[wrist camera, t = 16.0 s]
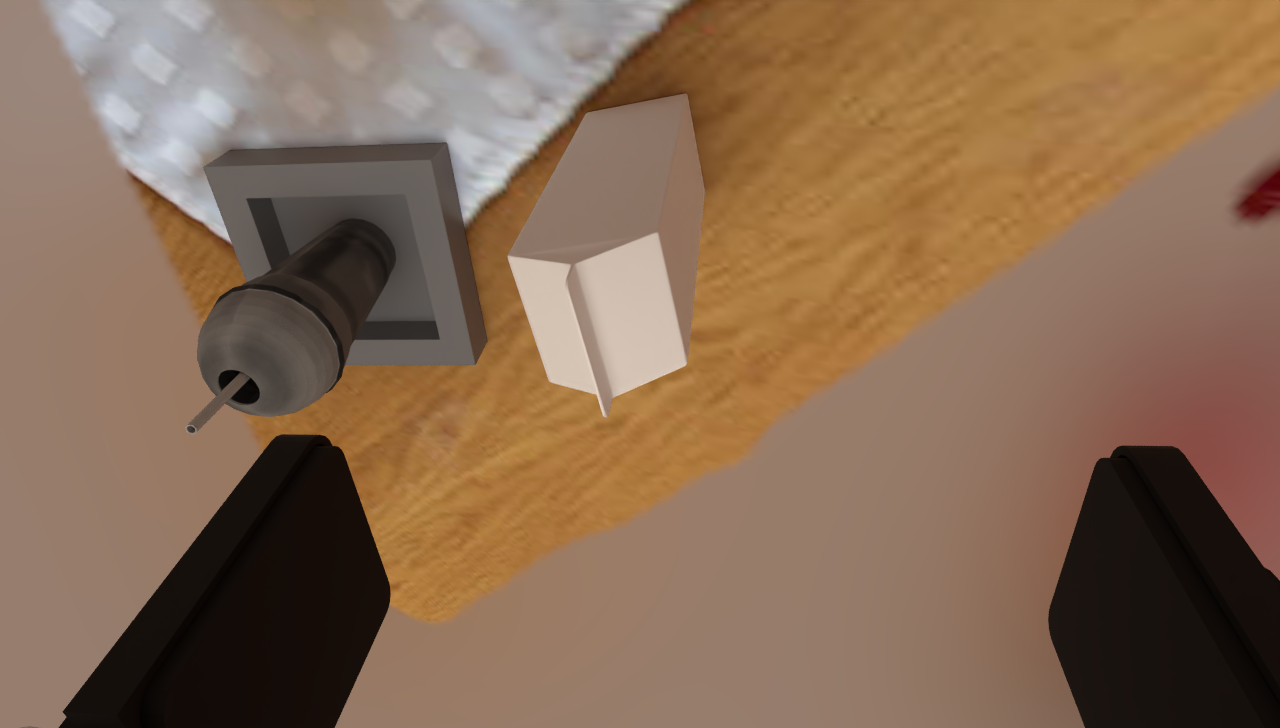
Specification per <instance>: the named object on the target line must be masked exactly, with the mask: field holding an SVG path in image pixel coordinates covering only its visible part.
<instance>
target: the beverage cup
mask: <svg viewBox="0 0 1280 728" xmlns="http://www.w3.org/2000/svg"><path fill="white" fill-rule="evenodd" d="M395 262H396V254H395V248H394V246H393V244H392V242H391V240H390V238H389V237H388V236H387V235H386V234H385V232H384V231H383V230H381V229H380V228H379V227H377V226H376V225H375V224H373V223H370V222H368V221H365V220H362V219H353V218H352V219H347V220H342V221H341V222H339V223H338V224H336V225H335V226H334V227H332V228H329V229H327V230H326V231H324V232H323V233H321V234H320V235H319V236H317V237H316V238H314V239H313V240H312V241H310V242H309V243H307V244H306V245H305V246H303V247H302V248H300V249H299V250H298V251H296V252H295V253H293V254H292V255H291V256H289V257H288V258H286V259H285V260H284V261H282V262H281V263H279V264H278V265H277V266H275V267H274V268H272V269H271V270H270V271H268V272H267V273H265V274H264V275H263V276H259V277H257V278H255V279H253V280H251V281H248V282H246V283H245V284H243V285H241V286H238V287H234V288H232V289H231V290H229V291H228V292H226V293H225V294H223V295H222V296H220V297H219V299H218V300H217V302H216V304H215V305H214V307H213V309H212V310H211V312H210V314H209V316H208V317H207V319H206V321H205V322H204V324H203V326H202V328H201V330H200V334H199V337H198V349H197V360H198V363H199V367H200V369H201V373H202V377H203V379H204V380H205V382H206V384H207V385H208V387H209V388H210V390H211V391H212V392H213V393H214V394H215V395H216V397H215V398H214V399H213V400H212V401H211V402H210V403H209V404H208V405H207V406H206V407H205V408H204V409H203V410H202V411H201V412H200V413H199V414H198V415H197V416H196V417H195V418H194V419H193V420H192V421H191V422H190V423H189V424H188V425H187V426H186V431H187V432H188V433H189V434H195V433H196V432H197V431H198V430H199V429H200V428H201V427H202V426H203V425H204V424H205V423H206V422H207V421H208V420H209V419H210V418H211V417H212V416H213V415H214V414H215V413H216V412H217V411H218V410H219V409H220V408H221V407H222V406H223V405H224V404H227V405H229V406H230V407H232V408H234V409H236V410H239V411H241V412H244V413H247V414H250V415H256V416H265V417H273V416H280V415H286V414H291V413H295V412H297V411H299V410H301V409H303V408H305V407H307V406H309V405H310V404H312V403H314V402H316V401H317V400H318V399H320V398H321V397H322V396H323V395H324V394H325V393H327V392H329V391H330V390H332V389H333V387H334V386H335V385H336V383H337V382H338V381H339V379H340V378H341V377H342V372H343V368H344V366H345V364H346V361H347V358H348V355H349V352H350V347H351V345H352V343H353V342H354V340H355V338H356V336H357V335H358V333H359V331H360V329H361V328H362V326H363V324H364V322H365V321H366V319H367V317H368V315H369V313H370V312H371V310H372V308H373V306H374V305H375V303H376V301H377V299H378V298H379V296H380V294H381V292H382V291H383V289H384V287H385V285H386V284H387V282H388V279H389V276H390V274H391V271H392V270H393V269H394V266H395Z"/></svg>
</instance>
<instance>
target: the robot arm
mask: <svg viewBox="0 0 1280 728" xmlns="http://www.w3.org/2000/svg"><path fill="white" fill-rule="evenodd" d="M389 603H390V585H389V581H388V578H387V575H386V572H385V570H384V567H383V564H382V561H381V558H380V555H379V552H378V550H377V547H376V544H375V541H374V538H373V535H372V533H371V530H370V527H369V524H368V521H367V518H366V515H365V513H364V510H363V507H362V504H361V501H360V498H359V495H358V493H357V490H356V487H355V484H354V481H353V478H352V475H351V473H350V470H349V467H348V464H347V461H346V458H345V456H344V453H343V451H342V450H341V449H340V448H339V447H336V446H332V444H331V442H330V440H329V439H328V438H327V437H326V436H322V435H285V434H282V435H279V436H276V437H275V438H274V439H273V440H272V441H271V442H270V444H269V445H268V446H267V447H266V449H265V450H264V451H263V453H262V454H261V455H260V457H259V458H258V459H257V460H256V462H255V463H254V464H253V466H252V467H251V468H250V469H249V471H248V472H247V474H246V475H245V476H244V477H243V479H242V480H241V481H240V483H239V484H238V485H237V486H236V488H235V489H234V490H233V492H232V493H231V494H230V495H229V497H228V498H227V499H226V501H225V502H224V503H223V505H222V506H221V507H220V508H219V510H218V511H217V512H216V514H215V515H214V516H213V517H212V519H211V520H210V521H209V523H208V524H207V525H206V527H205V528H204V529H203V530H202V532H201V533H200V534H199V536H198V537H197V538H196V540H195V541H194V542H193V543H192V545H191V546H190V547H189V549H188V550H187V551H186V553H185V554H184V555H183V557H182V558H181V559H180V560H179V562H178V563H177V564H176V565H175V567H174V568H173V569H172V571H171V572H170V573H169V575H168V576H167V577H166V579H165V580H164V581H163V582H162V584H161V585H160V586H159V588H158V589H157V590H156V592H155V593H154V594H153V595H152V597H151V598H150V599H149V601H148V602H147V603H146V605H145V606H144V607H143V608H142V610H141V611H140V612H139V613H138V615H137V616H136V617H135V619H134V620H133V621H132V623H131V624H130V625H129V626H128V628H127V629H126V630H125V632H124V633H123V634H122V636H121V637H120V638H119V639H118V641H117V642H116V643H115V645H114V646H113V647H112V649H111V650H110V651H109V652H108V654H107V655H106V656H105V658H104V659H103V660H102V661H101V663H100V664H99V666H98V667H97V668H96V669H95V671H94V672H93V673H92V674H91V676H90V677H89V678H88V680H87V681H86V682H85V684H84V685H83V686H82V687H81V689H80V690H79V691H78V693H77V694H76V695H75V697H74V698H73V699H72V700H71V702H70V703H69V704H68V706H67V707H66V708H65V709H64V711H63V713H64V714H65V715H66V719H65V720H64V721H63V723H62V724H61V725H60V727H59V728H335V725H336V723H337V721H338V719H339V717H340V715H341V712H342V710H343V708H344V705H345V703H346V701H347V699H348V697H349V695H350V692H351V690H352V688H353V686H354V684H355V681H356V679H357V677H358V675H359V673H360V670H361V668H362V666H363V664H364V662H365V659H366V657H367V655H368V653H369V651H370V648H371V646H372V644H373V642H374V639H375V637H376V635H377V633H378V631H379V629H380V626H381V624H382V622H383V620H384V618H385V615H386V613H387V610H388V608H389ZM1048 622H1049V631H1050V636H1051V639H1052V642H1053V645H1054V647H1055V650H1056V653H1057V655H1058V658H1059V661H1060V663H1061V666H1062V668H1063V671H1064V674H1065V676H1066V679H1067V682H1068V684H1069V687H1070V689H1071V692H1072V694H1073V697H1074V700H1075V702H1076V705H1077V707H1078V710H1079V713H1080V715H1081V718H1082V721H1083V723H1084V726H1085V728H1280V581H1279V580H1278V578H1277V577H1276V576H1275V575H1274V574H1273V573H1272V572H1271V571H1270V570H1268V569H1266V568H1264V567H1263V565H1262V564H1261V562H1260V561H1259V560H1258V558H1257V557H1256V555H1255V554H1254V552H1253V551H1252V550H1251V548H1250V547H1249V545H1248V544H1247V543H1246V541H1245V540H1244V538H1243V537H1242V536H1241V534H1240V533H1239V532H1238V530H1237V528H1236V527H1235V526H1234V524H1233V523H1232V521H1231V520H1230V519H1229V518H1228V516H1227V514H1226V513H1225V512H1224V510H1223V509H1222V507H1221V506H1220V504H1219V503H1218V502H1217V500H1216V499H1215V497H1214V496H1213V495H1212V493H1211V492H1210V490H1209V489H1208V488H1207V486H1206V485H1205V483H1204V482H1203V480H1202V479H1201V478H1200V476H1199V475H1198V473H1197V472H1196V471H1195V469H1194V468H1193V466H1192V465H1191V464H1190V462H1189V461H1188V459H1187V458H1186V456H1185V455H1184V454H1183V453H1182V452H1181V451H1180V450H1179V449H1178V448H1175V447H1173V446H1119V447H1117V448H1116V449H1115V450H1114V451H1113V453H1112V455H1111V457H1110V458H1101V459H1099V460H1098V461H1097V463H1096V465H1095V467H1094V470H1093V473H1092V476H1091V479H1090V483H1089V486H1088V489H1087V492H1086V495H1085V498H1084V501H1083V505H1082V508H1081V511H1080V514H1079V518H1078V521H1077V524H1076V527H1075V530H1074V533H1073V536H1072V539H1071V543H1070V546H1069V549H1068V552H1067V555H1066V558H1065V561H1064V564H1063V568H1062V571H1061V574H1060V577H1059V580H1058V583H1057V587H1056V590H1055V593H1054V596H1053V599H1052V602H1051V605H1050V609H1049V618H1048ZM23 728H37V727H30V726H29V727H23Z"/></svg>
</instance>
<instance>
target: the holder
mask: <svg viewBox="0 0 1280 728" xmlns="http://www.w3.org/2000/svg"><path fill="white" fill-rule="evenodd" d="M203 168H204V171H205V173H206V176H207V179H208V181H209V184H210V187H211V189H212V192H213V195H214V197H215V200H216V202H217V205H218V208H219V210H220V213H221V216H222V218H223V221H224V224H225V226H226V229H227V231H228V234H229V237H230V239H231V242H232V245H233V247H234V250H235V253H236V255H237V258H238V260H239V263H240V266H241V268H242V271H243V274H244V276H245V279H246V282H248V281H251V280H253V279H255V278H257V277H259V276H263V275H264V274H265V273H267V272H268V271H270V270H271V269H272V268H274V267H275V266H277V265H278V264H279V263H281V262H282V261H284V260H285V259H286V258H288V257H289V256H291V255H292V254H293V253H295V252H296V251H298V250H299V249H300V248H302V247H303V246H305V245H306V244H307V243H309V242H310V241H312V240H313V239H314V238H316V237H317V236H319V235H320V234H321V233H323V232H324V231H326V230H327V229H329V228H332V227H334V226H335V225H336V224H338V223H339V222H341V221H342V220H347V219H352V218H353V219H362V220H365V221H368V222H370V223H373V224H375V225H376V226H377V227H379V228H380V229H381V230H383V231H384V232H385V234H386V235H387V236H388V237H389V238H390V240H391V242H392V244H393V246H394V248H395V254H396V262H395V266H394V269H393V270H392V271H391V274H390V276H389V279H388V282H387V284H386V285H385V287H384V289H383V291H382V292H381V294H380V296H379V298H378V299H377V301H376V303H375V305H374V306H373V308H372V310H371V312H370V313H369V315H368V317H367V319H366V321H365V322H364V324H363V326H362V328H361V329H360V331H359V333H358V335H357V336H356V338H355V340H354V342H353V343H352V345H351V347H350V352H349V355H348V358H347V361H346V364H345V365H476V363H477V361H478V359H479V357H480V355H481V353H482V351H483V349H484V347H485V345H486V343H487V338H486V333H485V328H484V323H483V318H482V313H481V308H480V303H479V298H478V293H477V288H476V283H475V279H474V274H473V269H472V264H471V259H470V254H469V249H468V244H467V239H466V234H465V229H464V224H463V220H462V215H461V210H460V205H459V200H458V195H457V190H456V185H455V180H454V175H453V170H452V165H451V161H450V156H449V151H448V146H447V143H426V144H397V145H369V146H340V147H311V148H282V149H253V150H230V151H228V152H227V153H225V154H223V155H222V156H220V157H219V158H217V159H215V160H214V161H212V162H211V163H209V164H207V165H206V166H204V167H203Z"/></svg>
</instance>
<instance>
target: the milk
mask: <svg viewBox="0 0 1280 728" xmlns="http://www.w3.org/2000/svg"><path fill="white" fill-rule="evenodd" d="M704 198H705V188H704V182H703V177H702V172H701V166H700V161H699V155H698V150H697V144H696V139H695V133H694V128H693V122H692V117H691V111H690V106H689V100H688V95H687V94H686V93H685V94H680V95H674V96H669V97H664V98H659V99H654V100H649V101H644V102H638V103H633V104H628V105H623V106H618V107H613V108H607V109H602V110H597V111H592V112H587V113H586V115H585V116H584V118H583V120H582V122H581V124H580V125H579V127H578V129H577V131H576V133H575V134H574V136H573V138H572V140H571V142H570V144H569V145H568V147H567V149H566V151H565V153H564V154H563V156H562V158H561V160H560V162H559V163H558V165H557V167H556V169H555V171H554V173H553V174H552V176H551V178H550V180H549V182H548V183H547V185H546V187H545V189H544V191H543V192H542V194H541V196H540V198H539V200H538V202H537V203H536V205H535V207H534V209H533V211H532V212H531V214H530V216H529V218H528V220H527V222H526V223H525V225H524V227H523V229H522V231H521V232H520V234H519V236H518V238H517V240H516V241H515V243H514V245H513V247H512V249H511V251H510V252H509V254H508V261H509V264H510V267H511V270H512V273H513V276H514V279H515V282H516V284H517V287H518V290H519V293H520V296H521V299H522V302H523V305H524V308H525V311H526V314H527V317H528V320H529V323H530V326H531V329H532V332H533V335H534V338H535V341H536V344H537V347H538V350H539V353H540V356H541V359H542V362H543V365H544V368H545V371H546V374H547V377H548V380H549V381H550V382H551V383H555V384H558V385H562V386H566V387H570V388H573V389H577V390H581V391H585V392H589V393H592V394H596V395H597V398H598V401H599V404H600V408H601V411H602V414H603V416H604V417H608V415H609V411H610V407H611V403H612V399H613V398H614V397H616V396H618V395H620V394H623V393H625V392H627V391H630V390H632V389H634V388H636V387H639V386H641V385H643V384H646V383H648V382H650V381H652V380H655V379H657V378H659V377H661V376H664V375H666V374H668V373H671V372H673V371H675V370H677V369H680V368H682V367H684V366H685V365H687V362H688V353H689V343H690V333H691V324H692V314H693V304H694V295H695V285H696V275H697V265H698V256H699V246H700V236H701V227H702V217H703V207H704Z"/></svg>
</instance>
